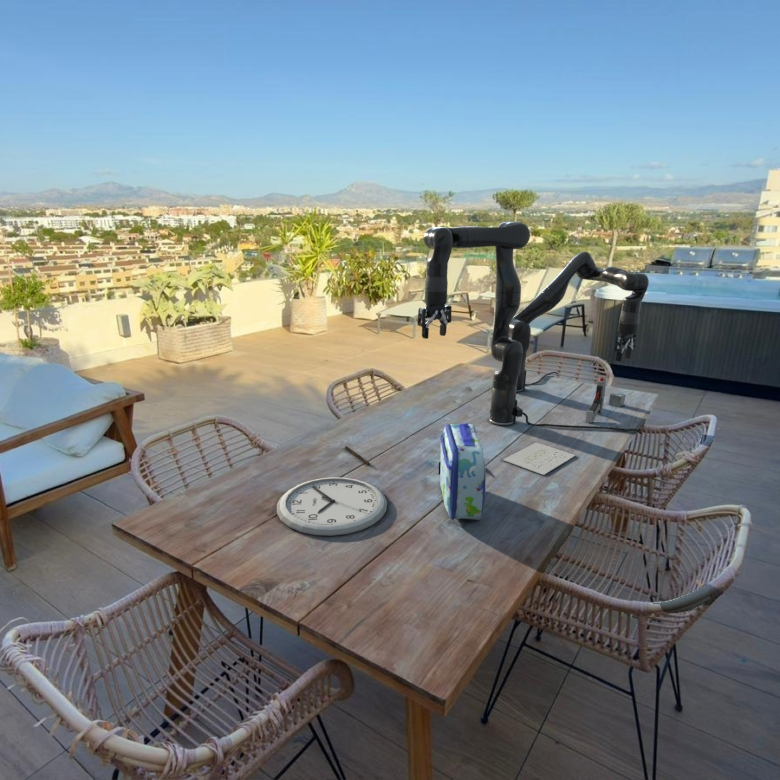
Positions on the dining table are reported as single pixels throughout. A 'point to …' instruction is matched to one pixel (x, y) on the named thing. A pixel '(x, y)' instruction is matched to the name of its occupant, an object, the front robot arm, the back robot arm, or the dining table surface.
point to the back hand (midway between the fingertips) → (623, 359)
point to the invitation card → (539, 458)
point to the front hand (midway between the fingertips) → (434, 336)
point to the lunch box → (462, 472)
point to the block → (617, 399)
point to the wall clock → (331, 506)
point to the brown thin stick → (357, 455)
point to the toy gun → (597, 401)
